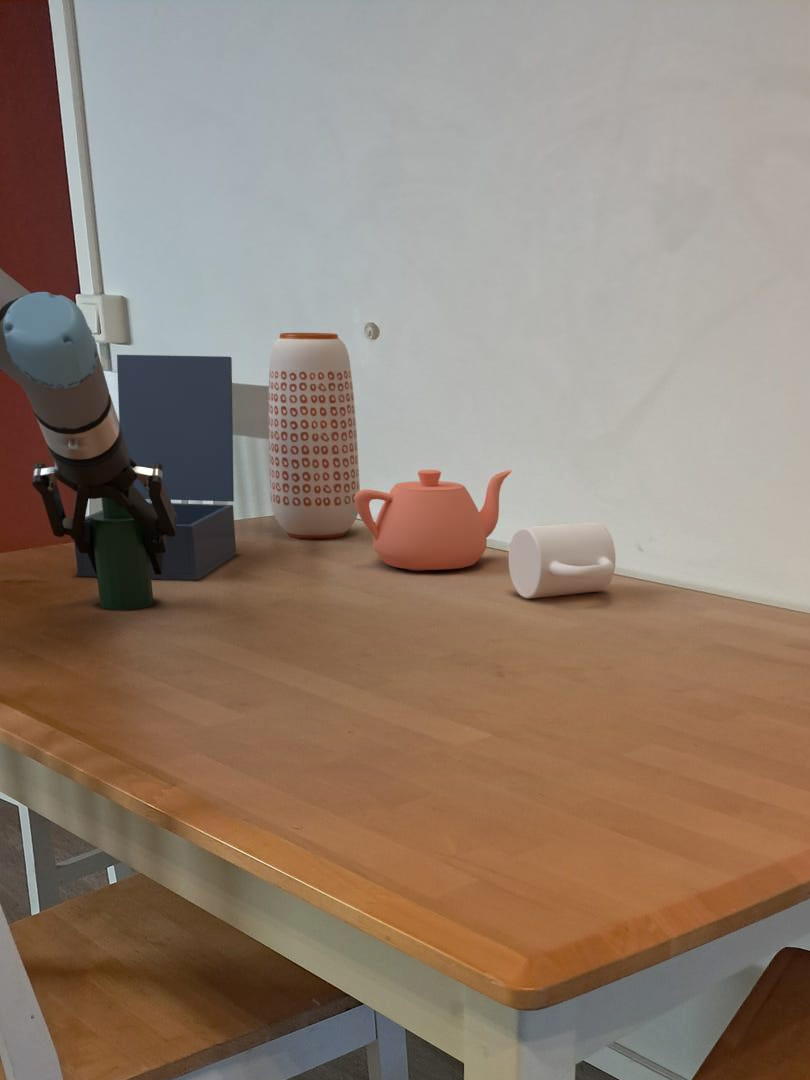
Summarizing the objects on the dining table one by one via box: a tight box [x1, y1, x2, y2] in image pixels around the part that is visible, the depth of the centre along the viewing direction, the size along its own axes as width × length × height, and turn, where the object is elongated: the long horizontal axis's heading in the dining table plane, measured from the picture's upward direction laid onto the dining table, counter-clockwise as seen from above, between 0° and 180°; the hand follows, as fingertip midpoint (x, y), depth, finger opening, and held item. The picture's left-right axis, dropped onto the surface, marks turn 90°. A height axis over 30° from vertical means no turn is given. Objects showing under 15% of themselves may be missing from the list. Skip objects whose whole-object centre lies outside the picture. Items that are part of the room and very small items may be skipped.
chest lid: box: [116, 354, 235, 502], centre depth 175 cm, size 19×16×7 cm
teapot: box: [354, 469, 513, 572], centre depth 170 cm, size 22×15×12 cm
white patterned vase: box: [268, 332, 361, 540], centre depth 187 cm, size 13×13×28 cm
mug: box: [508, 521, 616, 599], centre depth 153 cm, size 12×10×8 cm
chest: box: [73, 501, 237, 581], centre depth 168 cm, size 18×16×7 cm
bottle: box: [91, 498, 154, 611], centre depth 146 cm, size 6×6×13 cm
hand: (129, 564), depth 150 cm, fingers closed on bottle, 6 cm apart
